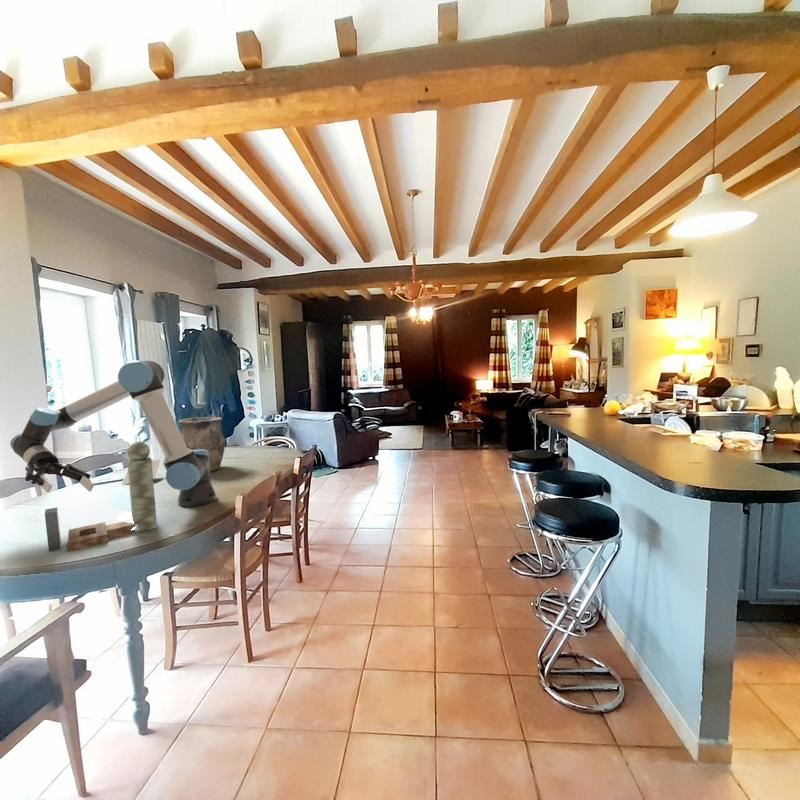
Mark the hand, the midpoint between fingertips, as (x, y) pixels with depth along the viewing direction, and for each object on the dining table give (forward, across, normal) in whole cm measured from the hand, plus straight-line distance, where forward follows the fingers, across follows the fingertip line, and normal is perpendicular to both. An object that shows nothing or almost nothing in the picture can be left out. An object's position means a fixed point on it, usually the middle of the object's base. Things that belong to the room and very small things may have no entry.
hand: (71, 488), depth 144 cm
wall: (-40, -63, -19) cm, 78 cm away
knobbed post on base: (+15, -12, -11) cm, 22 cm away
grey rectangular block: (+8, +2, -18) cm, 20 cm away
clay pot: (-29, -88, -6) cm, 92 cm away
